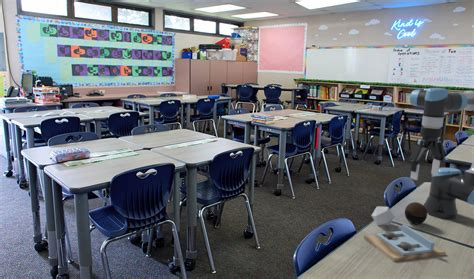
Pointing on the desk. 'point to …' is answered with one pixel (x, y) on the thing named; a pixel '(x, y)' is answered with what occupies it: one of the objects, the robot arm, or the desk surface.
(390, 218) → the die
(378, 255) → the desk surface
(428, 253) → the board
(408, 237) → the panel
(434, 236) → the desk surface
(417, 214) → the toy
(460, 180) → the robot arm
